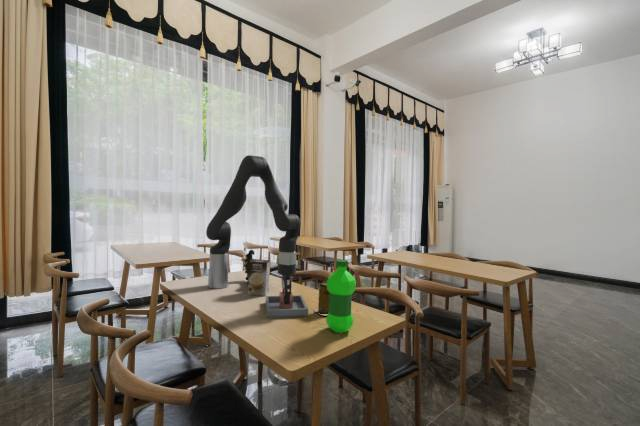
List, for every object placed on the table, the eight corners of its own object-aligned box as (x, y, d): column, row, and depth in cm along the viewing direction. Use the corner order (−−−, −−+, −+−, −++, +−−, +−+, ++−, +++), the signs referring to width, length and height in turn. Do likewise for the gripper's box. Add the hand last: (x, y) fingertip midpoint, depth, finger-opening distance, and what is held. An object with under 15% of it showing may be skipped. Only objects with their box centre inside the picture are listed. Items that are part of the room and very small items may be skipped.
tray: (267, 318, 119) (267, 310, 119) (265, 302, 136) (265, 296, 136) (308, 316, 122) (308, 309, 122) (301, 301, 140) (301, 295, 140)
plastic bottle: (359, 330, 110) (362, 261, 109) (340, 339, 103) (343, 264, 102) (338, 322, 117) (341, 256, 117) (319, 329, 110) (321, 259, 109)
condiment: (329, 308, 132) (330, 280, 132) (338, 315, 124) (340, 286, 124) (313, 310, 129) (314, 282, 128) (322, 318, 121) (323, 287, 121)
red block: (280, 310, 126) (280, 295, 126) (279, 306, 131) (279, 291, 131) (292, 309, 127) (292, 295, 127) (290, 305, 132) (291, 291, 132)
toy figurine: (240, 284, 171) (257, 291, 150) (239, 249, 171) (257, 252, 151) (256, 282, 176) (275, 289, 155) (256, 248, 177) (274, 251, 156)
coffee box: (246, 294, 147) (247, 261, 146) (251, 291, 153) (252, 258, 152) (265, 296, 146) (266, 262, 145) (269, 292, 152) (270, 259, 152)
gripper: (276, 258, 135) (275, 295, 135) (279, 265, 121) (278, 306, 121) (294, 258, 136) (292, 295, 137) (298, 265, 122) (297, 306, 123)
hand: (285, 300), depth 129 cm, fingers open, 8 cm apart
